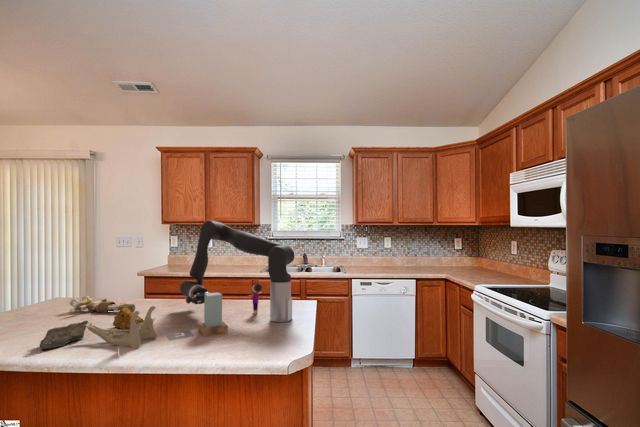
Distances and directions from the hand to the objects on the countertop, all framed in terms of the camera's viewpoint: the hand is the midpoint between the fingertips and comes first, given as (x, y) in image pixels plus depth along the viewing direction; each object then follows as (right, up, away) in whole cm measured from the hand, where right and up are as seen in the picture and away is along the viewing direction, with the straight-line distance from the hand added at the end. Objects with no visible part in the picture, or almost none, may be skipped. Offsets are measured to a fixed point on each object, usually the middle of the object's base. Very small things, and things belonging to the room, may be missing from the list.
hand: (207, 300), depth 141 cm
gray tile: (-6, -10, -13) cm, 18 cm away
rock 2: (-32, -11, -3) cm, 34 cm away
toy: (+18, -11, +18) cm, 28 cm away
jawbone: (-26, -10, -21) cm, 34 cm away
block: (+5, -7, -9) cm, 12 cm away
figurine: (-59, -12, +23) cm, 64 cm away
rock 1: (-45, -10, -21) cm, 51 cm away
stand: (+5, -10, -9) cm, 15 cm away
